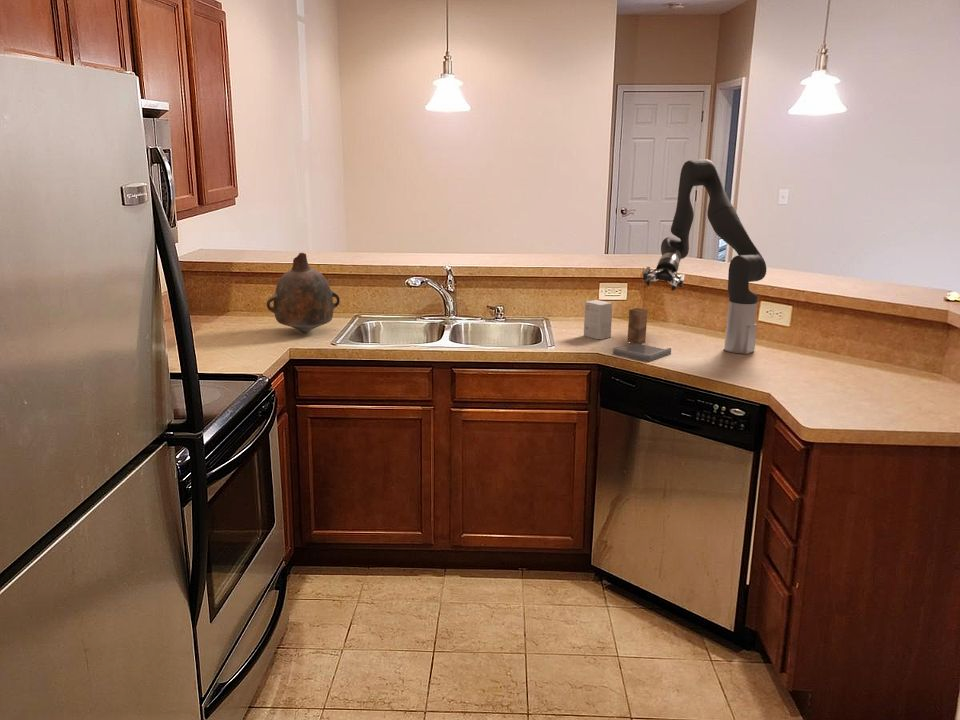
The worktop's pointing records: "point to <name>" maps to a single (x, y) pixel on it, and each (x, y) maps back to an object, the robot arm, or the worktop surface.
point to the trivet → (642, 352)
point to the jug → (303, 297)
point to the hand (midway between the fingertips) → (660, 286)
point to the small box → (598, 319)
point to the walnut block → (637, 325)
